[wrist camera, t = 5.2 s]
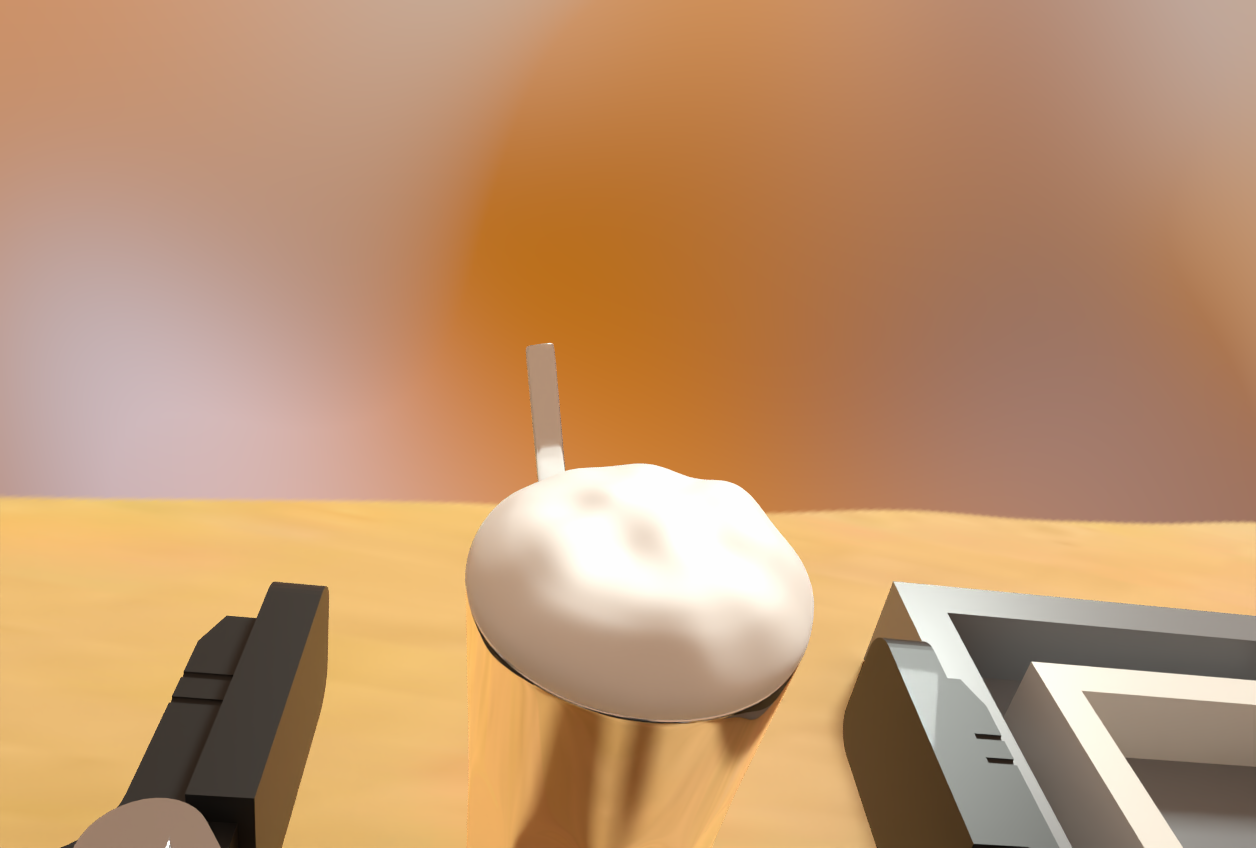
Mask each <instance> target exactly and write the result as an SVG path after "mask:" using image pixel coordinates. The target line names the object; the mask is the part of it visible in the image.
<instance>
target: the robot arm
mask: <svg viewBox="0 0 1256 848" xmlns="http://www.w3.org/2000/svg"><path fill="white" fill-rule="evenodd" d="M328 618H329V591H328V587H327V586H316V585H305V584H294V583H283V582H273V583H272V584H271V585H270V587H269V589H268V592H267V594H266V597H265V599H264V601H263V604H262V606H261V609H260V611H259V614H258V616H257V618H247V617H235V616H226V617H225V618H224V619H222V620H221V621H220V622H219V623H218V624H217V625H216V626H215V627H213V628H212V629H211V630H210V631H209V632H208V633H207V634H205V635H204V636H203V637H202V638H201V639H200V640H199V641H198V642H197V645H196V647H195V649H194V651H193V653H192V655H191V657H190V659H189V661H188V664H187V666H186V668H185V670H184V675H183V677H181V678H180V681H179V683H178V685H177V687H176V689H175V691H174V693H173V695H172V701H171V703H169V704H168V706H167V708H166V710H165V712H164V714H163V717H162V719H161V721H160V723H159V725H158V727H157V729H156V731H155V733H154V736H153V738H152V740H151V742H150V744H149V746H148V748H147V750H146V752H145V755H144V757H143V759H142V761H141V763H140V765H139V767H138V769H137V772H136V774H135V776H134V778H133V780H132V782H131V784H130V786H129V788H128V791H127V793H126V795H125V796H124V798H123V800H122V802H121V803H120V805H119V806H118V807H117V808H115V809H113V810H111V811H109V812H108V813H106V814H105V815H103V816H102V817H100V818H99V819H97V820H96V821H95V822H94V823H93V824H92V825H90V826H89V827H88V828H87V829H86V831H85V832H84V833H83V834H82V835H81V836H80V838H79V839H78V840H77V841H75V842H73V843H71V844H69V845H66V846H64V847H61V848H282V845H283V841H284V838H285V834H286V831H287V827H288V824H289V820H290V817H291V813H292V810H293V806H294V803H295V799H296V796H297V792H298V789H299V785H300V782H301V778H302V775H303V771H304V768H305V764H306V761H307V757H308V754H309V750H310V747H311V743H312V740H313V736H314V733H315V729H316V726H317V722H318V719H319V715H320V712H321V707H322V703H323V698H324V692H325V686H326V677H327V662H328ZM1001 736H1002V735H1001V733H1000V731H999V729H998V727H997V726H996V724H995V722H994V720H993V718H992V716H991V714H990V712H989V710H988V708H987V706H986V705H985V704H984V703H983V702H982V701H981V700H980V699H979V698H978V697H977V696H976V695H975V694H974V693H973V692H972V691H971V690H970V689H969V688H968V687H967V686H966V685H965V684H964V683H963V681H962V680H961V679H953V678H947V676H946V674H945V672H944V670H943V668H942V666H941V664H940V662H939V660H938V658H937V655H936V653H935V651H934V650H933V648H932V646H931V645H930V644H929V643H927V642H925V641H914V640H903V639H892V638H881V637H880V638H876V639H875V640H874V641H873V642H872V644H871V646H870V648H869V650H868V653H867V656H866V658H865V661H864V663H863V666H862V669H861V671H860V674H859V676H858V679H857V682H856V684H855V687H854V689H853V692H852V695H851V697H850V700H849V702H848V705H847V708H846V711H845V715H844V723H843V740H844V747H845V752H846V755H847V758H848V761H849V764H850V767H851V770H852V773H853V776H854V779H855V783H856V786H857V789H858V792H859V795H860V798H861V801H862V804H863V807H864V810H865V813H866V816H867V819H868V822H869V825H870V828H871V831H872V834H873V837H874V840H875V844H876V847H877V848H1059V846H1058V844H1057V842H1056V840H1055V838H1054V836H1053V834H1052V832H1051V830H1050V828H1049V826H1048V824H1047V822H1046V820H1045V819H1044V817H1043V815H1042V813H1041V811H1040V809H1039V807H1038V805H1037V803H1036V801H1035V799H1034V797H1033V795H1032V793H1031V791H1030V789H1029V788H1028V786H1027V784H1026V782H1025V780H1024V778H1023V776H1022V774H1021V772H1020V770H1019V768H1018V766H1017V765H1014V763H1013V761H1014V758H1013V757H1012V755H1011V753H1010V751H1009V749H1008V747H1007V745H1006V743H1005V741H1002V740H1001Z"/></svg>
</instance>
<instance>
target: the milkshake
mask: <svg viewBox="0 0 1256 848" xmlns="http://www.w3.org/2000/svg"><path fill="white" fill-rule="evenodd" d="M526 358H527V370H528V380H529V392H530V402H531V413H532V424H533V434H534V445H535V456H536V466H537V477H538V482H537V483H534V484H532V485H530V486H527V487H525V488H523V489H521V490H519V491H517V492H515V493H513V494H512V495H510V496H508V497H507V498H506V499H504V500H503V501H502V502H501V503H500V504H498V505H497V506H496V507H495V508H494V509H493V510H492V511H491V512H490V514H489V515H488V516H487V518H486V519H485V520H484V522H483V523H482V525H481V526H480V528H479V530H478V532H477V534H476V535H475V538H474V540H473V542H472V545H471V548H470V551H469V554H468V558H467V564H466V573H465V583H466V636H467V691H468V751H469V759H468V808H467V848H712V846H713V843H714V841H715V839H716V837H717V834H718V832H719V830H720V827H721V825H722V823H723V821H724V818H725V816H726V814H727V811H728V809H729V807H730V805H731V802H732V800H733V798H734V796H735V794H736V791H737V789H738V787H739V785H740V783H741V781H742V779H743V777H744V775H745V773H746V771H747V769H748V767H749V765H750V763H751V761H752V759H753V757H754V755H755V753H756V751H757V749H758V747H759V745H760V743H761V741H762V739H763V737H764V735H765V733H766V731H767V729H768V727H769V725H770V723H771V720H772V718H773V716H774V714H775V712H776V710H777V708H778V706H779V704H780V702H781V700H782V698H783V696H784V694H785V692H786V690H787V688H788V686H789V684H790V682H791V680H792V678H793V676H794V674H795V672H796V670H797V667H798V665H799V663H800V661H801V659H802V657H803V655H804V653H805V650H806V648H807V645H808V642H809V638H810V634H811V630H812V624H813V615H814V599H813V592H812V586H811V583H810V580H809V577H808V574H807V572H806V570H805V567H804V565H803V563H802V561H801V560H800V558H799V556H798V555H797V554H796V552H795V551H794V549H793V548H792V547H791V545H790V544H789V543H788V542H787V541H786V539H785V538H784V537H783V536H782V535H781V534H780V532H779V531H778V530H777V529H776V527H775V526H774V525H773V524H772V522H771V521H770V520H769V518H768V517H767V516H766V514H765V513H764V511H763V510H762V509H761V507H760V506H759V505H758V504H757V502H756V501H755V500H754V499H753V498H752V497H751V496H750V495H749V494H748V493H747V492H746V491H745V490H744V489H742V488H741V487H739V486H737V485H736V484H733V483H730V482H726V481H720V480H702V479H695V478H691V477H687V476H684V475H681V474H679V473H676V472H674V471H671V470H669V469H666V468H663V467H660V466H656V465H651V464H628V465H620V466H611V467H596V468H579V469H573V470H568V471H565V463H564V451H563V442H562V441H563V440H562V429H561V418H560V407H559V395H558V384H557V373H556V362H555V352H554V347H553V344H552V343H546V344H538V345H531V346H528V347H527V349H526Z"/></svg>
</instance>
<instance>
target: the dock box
mask: <svg viewBox="0 0 1256 848" xmlns="http://www.w3.org/2000/svg"><path fill="white" fill-rule="evenodd" d="M880 637H881V638H892V639H903V640H914V641H925V642H927V643H929V644H930V645H931V646H932V648H933V650H934V651H935V653H936V655H937V658H938V660H939V662H940V664H941V666H942V668H943V670H944V672H945V674H946V676H947V678H953V679H961V680H962V681H963V683H964V684H965V685H966V686H967V687H968V688H969V689H970V690H971V691H972V692H973V693H974V694H975V695H976V696H977V697H978V698H979V699H980V700H981V701H982V702H983V703H984V704H985V705H986V706H987V708H988V710H989V712H990V714H991V716H992V718H993V720H994V722H995V724H996V726H997V727H998V729H999V731H1000V733H1001V735H1002V736H1001V740H1002V741H1005V743H1006V745H1007V747H1008V749H1009V751H1010V753H1011V755H1012V757H1013V758H1014V761H1013V763H1014V765H1017V766H1018V768H1019V770H1020V772H1021V774H1022V776H1023V778H1024V780H1025V782H1026V784H1027V786H1028V788H1029V789H1030V791H1031V793H1032V795H1033V797H1034V799H1035V801H1036V803H1037V805H1038V807H1039V809H1040V811H1041V813H1042V815H1043V817H1044V819H1045V820H1046V822H1047V824H1048V826H1049V828H1050V830H1051V832H1052V834H1053V836H1054V838H1055V840H1056V842H1057V844H1058V846H1059V848H1256V616H1249V615H1239V614H1228V613H1218V612H1207V611H1197V610H1187V609H1176V608H1166V607H1155V606H1145V605H1134V604H1124V603H1113V602H1103V601H1093V600H1082V599H1072V598H1061V597H1051V596H1040V595H1030V594H1019V593H1009V592H998V591H988V590H978V589H967V588H957V587H946V586H936V585H925V584H915V583H904V582H894V581H893V584H892V586H891V589H890V592H889V594H888V597H887V599H886V602H885V605H884V607H883V610H882V613H881V615H880V618H879V620H878V623H877V626H876V628H875V631H874V633H873V636H872V639H871V641H870V644H869V647H868V649H867V652H866V654H865V657H864V660H865V658H866V656H867V653H868V650H869V648H870V646H871V644H872V642H873V641H874V640H875V639H876V638H880Z"/></svg>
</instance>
